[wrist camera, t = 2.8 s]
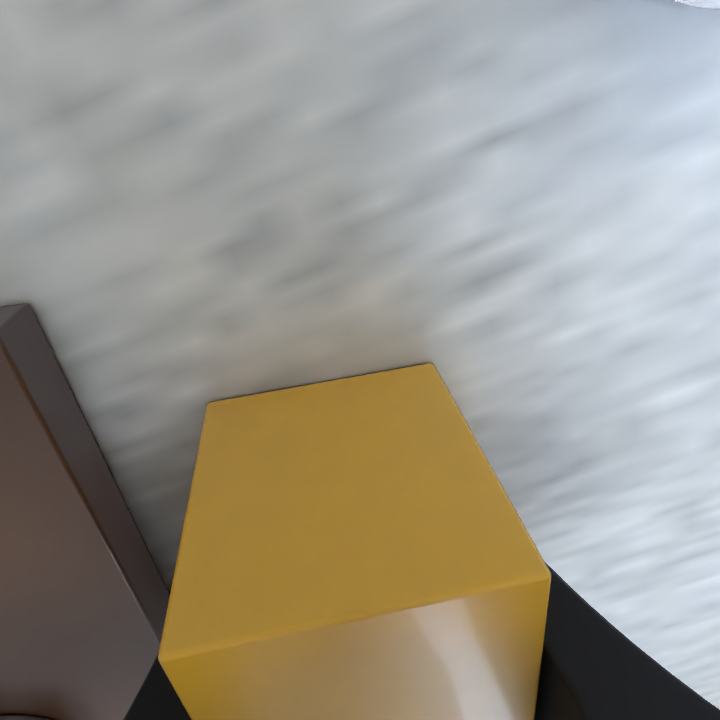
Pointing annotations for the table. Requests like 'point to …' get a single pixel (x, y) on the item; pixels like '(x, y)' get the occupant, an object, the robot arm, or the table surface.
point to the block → (352, 562)
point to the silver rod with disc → (21, 717)
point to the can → (701, 3)
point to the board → (65, 550)
